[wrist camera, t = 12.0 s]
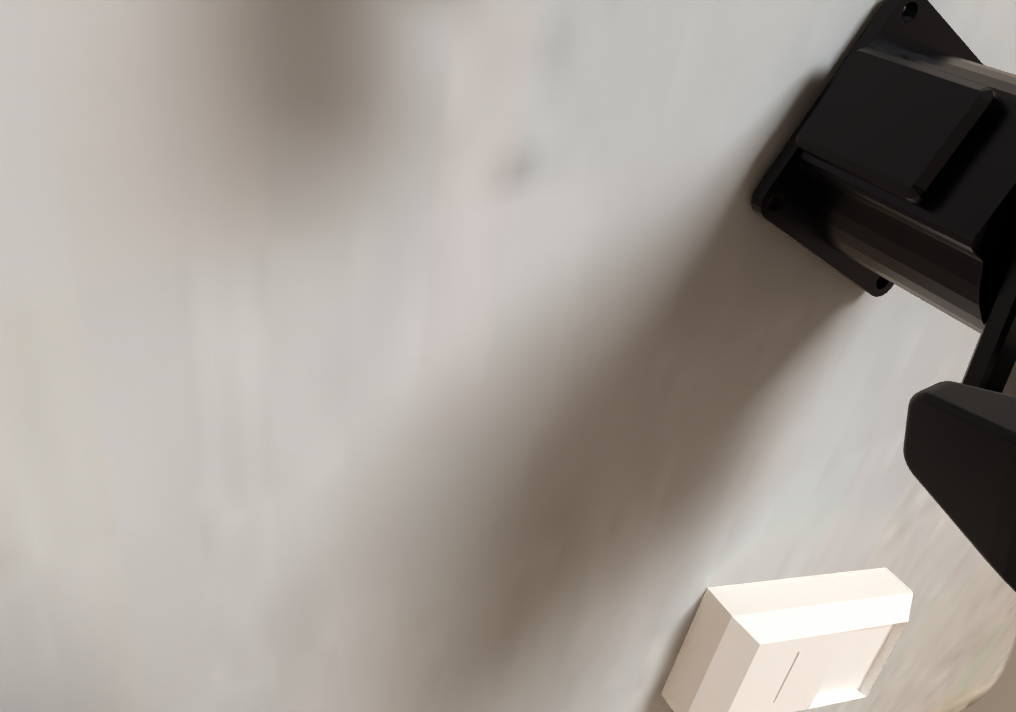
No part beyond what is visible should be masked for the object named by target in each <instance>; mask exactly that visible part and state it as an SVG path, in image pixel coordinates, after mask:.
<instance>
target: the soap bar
mask: <svg viewBox="0 0 1016 712" xmlns="http://www.w3.org/2000/svg"><path fill="white" fill-rule="evenodd" d="M912 596H913V592H912V591H911V590H910V589H909V588H908V587H907V586H906V585H905V584H903V583H902V582H901V581H900V580H899V579H898V578H897V577H896V576H895V575H893V574H892V573H891V572H890V571H889V570H888V569H887V568H877V569H868V570H859V571H850V572H841V573H833V574H824V575H815V576H806V577H797V578H788V579H779V580H771V581H762V582H753V583H744V584H735V585H726V586H717V587H708V588H707V589H706V592H705V594H704V596H703V598H702V601H701V603H700V605H699V608H698V610H697V612H696V615H695V617H694V619H693V621H692V624H691V626H690V628H689V631H688V633H687V635H686V638H685V640H684V642H683V644H682V647H681V649H680V651H679V654H678V656H677V658H676V661H675V663H674V665H673V667H672V670H671V672H670V674H669V677H668V679H667V681H666V684H665V686H664V688H663V690H662V693H661V695H662V696H663V698H664V699H665V700H666V702H667V703H668V704H669V706H670V707H671V709H672V710H673V711H674V712H796V711H801V710H806V709H811V708H816V707H820V706H825V705H830V704H835V703H840V702H845V701H850V700H855V699H859V698H864V697H867V695H868V693H869V692H870V690H871V688H872V686H873V684H874V683H875V681H876V679H877V677H878V675H879V674H880V672H881V670H882V668H883V666H884V664H885V663H886V661H887V659H888V657H889V655H890V654H891V652H892V650H893V648H894V646H895V645H896V643H897V641H898V639H899V637H900V636H901V634H902V632H903V630H904V628H905V627H906V625H907V623H908V620H909V614H910V608H911V602H912Z"/></svg>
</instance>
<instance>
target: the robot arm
mask: <svg viewBox="0 0 1016 712" xmlns="http://www.w3.org/2000/svg"><path fill="white" fill-rule="evenodd" d="M905 6H906V9H905V12H904V14H903V15H902V11H903V9H904V7H905ZM774 194H775V197H774V199H773V201H772V202H771V203H770V204H769V201H770V199H771V197H772V196H773V195H774ZM751 204H752V209H753V210H754V211H755V213H757V214H758V215H759V216H761V217H762V218H764V219H765V220H766V221H768V222H769V223H771V224H772V225H773V226H775V227H776V228H777V229H779V230H780V231H782V232H783V233H784V234H786V235H787V236H789V237H790V238H791V239H793V240H794V241H796V242H797V243H798V244H800V245H801V246H803V247H804V248H805V249H807V250H808V251H809V252H811V253H812V254H814V255H815V256H816V257H818V258H819V259H821V260H822V261H823V262H825V263H826V264H828V265H829V266H830V267H832V268H833V269H835V270H836V271H837V272H839V273H840V274H842V275H843V276H844V277H846V278H847V279H848V280H850V281H851V282H853V283H854V284H855V285H857V286H858V287H860V288H861V289H862V290H864V291H866V292H867V293H869V294H871V295H872V296H875V297H878V296H882V295H884V294H885V293H887V292H888V291H889V290H890V289H891V288H892V286H893V285H894V284H896V285H897V286H899V287H901V288H903V289H904V290H906V291H908V292H910V293H911V294H913V295H915V296H916V297H918V298H920V299H922V300H923V301H925V302H927V303H929V304H930V305H932V306H934V307H936V308H937V309H939V310H941V311H943V312H944V313H946V314H948V315H949V316H951V317H953V318H955V319H956V320H958V321H960V322H962V323H963V324H965V325H967V326H969V327H970V328H972V329H974V330H976V331H977V332H979V333H981V335H980V338H979V340H978V343H977V345H976V348H975V350H974V353H973V355H972V358H971V360H970V363H969V365H968V368H967V370H966V373H965V375H964V378H963V380H962V383H957V382H951V381H944V382H940V383H937V384H935V385H933V386H930V387H928V388H926V389H924V390H922V391H920V392H918V393H916V394H915V395H913V397H912V398H911V400H910V402H909V406H908V414H907V422H906V431H905V439H904V447H903V453H904V458H905V461H906V463H907V465H908V467H909V469H910V471H911V472H912V474H913V475H914V476H915V477H916V478H917V480H918V481H919V482H920V483H921V484H922V485H923V487H924V488H925V489H926V490H927V491H928V493H929V494H930V495H931V496H932V497H933V498H934V500H935V501H936V502H937V503H938V504H939V505H940V507H941V508H942V509H943V510H944V511H945V513H946V514H947V515H948V516H949V517H950V518H951V520H952V521H953V522H954V523H955V524H956V526H957V527H958V528H959V529H960V530H961V531H962V533H963V534H964V535H965V536H966V537H967V538H968V540H969V541H970V542H971V543H972V544H973V546H974V547H975V548H976V549H977V550H978V551H979V553H980V554H981V555H982V556H983V557H984V558H985V560H986V561H987V562H988V563H989V564H990V565H991V566H992V568H993V569H994V570H995V571H996V572H997V573H998V574H999V575H1000V576H1001V578H1002V579H1003V580H1004V581H1005V582H1006V583H1007V584H1008V585H1009V586H1010V587H1011V588H1012V589H1013V590H1014V591H1015V592H1016V75H1014V74H1011V73H1008V72H1004V71H1001V70H998V69H995V68H991V67H988V66H985V65H983V64H982V63H981V62H980V60H979V59H978V58H977V57H976V56H975V55H974V54H973V52H972V51H971V50H970V49H969V48H968V47H967V45H966V44H965V43H964V42H963V41H962V40H961V38H960V37H959V36H958V35H957V34H956V33H955V32H954V30H953V29H952V28H951V27H950V26H949V25H948V23H947V22H946V21H945V20H944V19H943V18H942V16H941V15H940V14H939V13H938V12H937V11H936V10H935V8H934V7H933V6H932V5H931V4H930V3H929V1H928V0H886V2H885V3H884V5H883V6H882V7H881V9H880V10H879V12H878V13H877V15H876V16H875V18H874V19H873V20H872V22H871V23H870V25H869V26H868V28H867V29H866V31H865V32H864V33H863V35H862V36H861V38H860V39H859V41H858V42H857V44H856V45H855V46H854V48H853V49H852V51H851V52H850V54H849V55H848V56H847V58H846V59H845V61H844V62H843V64H842V65H841V67H840V68H839V69H838V71H837V72H836V74H835V75H834V77H833V78H832V80H831V81H830V82H829V84H828V85H827V87H826V88H825V90H824V91H823V92H822V94H821V95H820V97H819V98H818V100H817V101H816V103H815V104H814V105H813V107H812V108H811V110H810V111H809V113H808V114H807V116H806V117H805V118H804V120H803V121H802V123H801V124H800V126H799V127H798V128H797V130H796V131H795V133H794V134H793V136H792V137H791V139H790V140H789V141H788V143H787V144H786V146H785V147H784V149H783V150H782V152H781V153H780V154H779V156H778V157H777V159H776V160H775V162H774V163H773V165H772V166H771V167H770V169H769V170H768V172H767V173H766V175H765V176H764V177H763V179H762V180H761V182H760V183H759V185H758V186H757V188H756V189H755V191H754V193H753V195H752V200H751Z"/></svg>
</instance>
